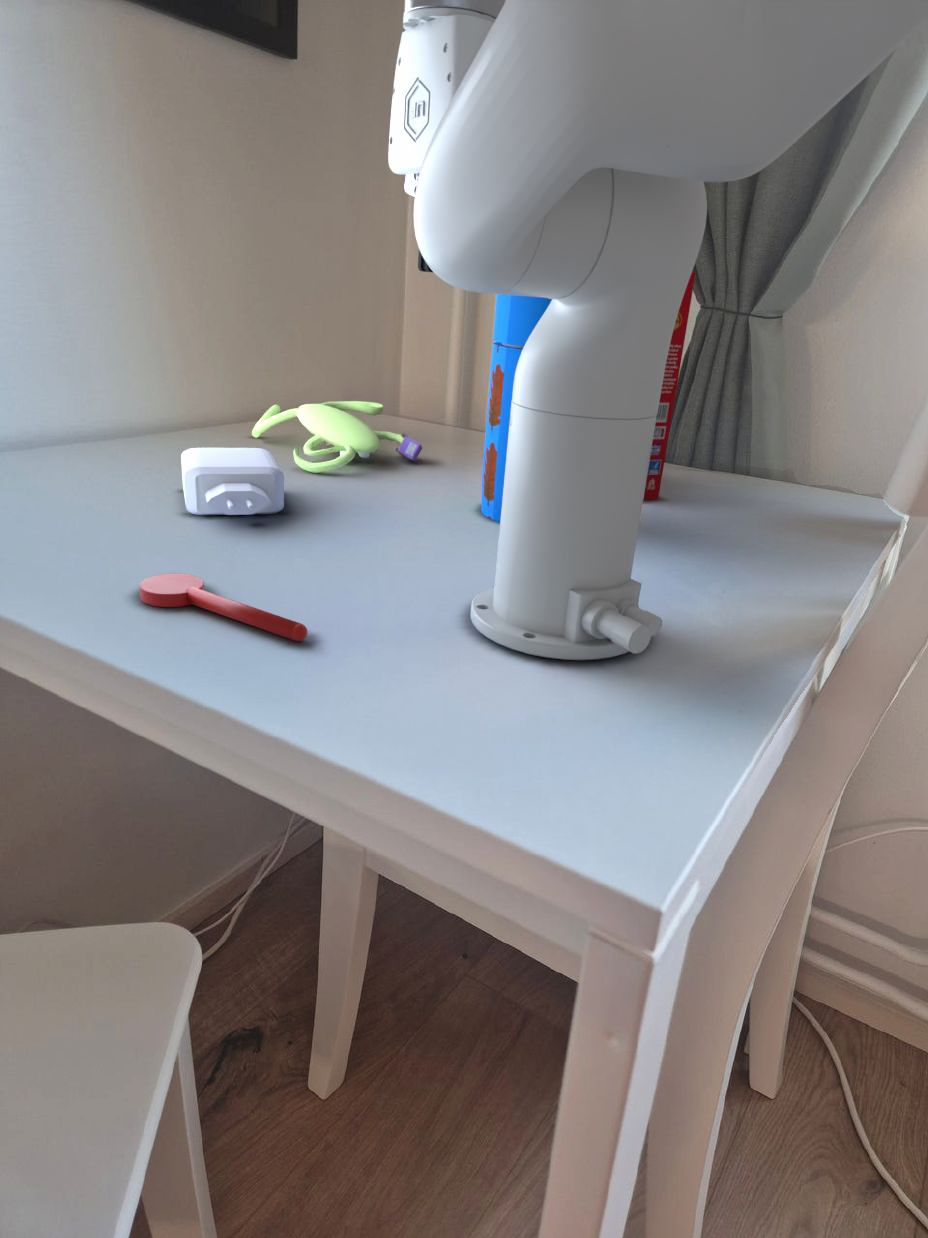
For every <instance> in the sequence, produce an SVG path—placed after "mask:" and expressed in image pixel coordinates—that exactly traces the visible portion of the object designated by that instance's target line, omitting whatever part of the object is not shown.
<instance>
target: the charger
mask: <svg viewBox="0 0 928 1238" xmlns="http://www.w3.org/2000/svg"><path fill="white" fill-rule="evenodd" d="M180 461H181V462H180V463H181V477H182V478H181V479H182V489H183V495H184V496H183V497H184V503H185V509H186V511H188V513H190V514H193V515H196V516H238V515H239V516H240V515H271V514H277V513H278V512H281V511H282V510H283V509H284V507H285V475H284V472H283V470H282V469H281V467H280V465H279V464H278V462H277V460H276V458H275V457H274V456H273V454H272V452H270V450H267V449H265V448H261V447H191V448H187V449H185V450H183V451H182V453H181V455H180Z"/></svg>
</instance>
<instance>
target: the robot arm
mask: <svg viewBox="0 0 928 1238" xmlns="http://www.w3.org/2000/svg"><path fill="white" fill-rule="evenodd" d="M402 14H403V15H402V28H403V29H404V31H402V32H401V37H400V42H399V47H398V52H397V58H396V64H395V71H394V79H393V89H392V99H391V107H390V108H391V109H390V110H391V111H390V121H389V134H388V135H389V137H388V140H389V141H388V167H389V169H390V170H391V172H392V173H393V174H396V175H401V176H402V175H403V176H404V175H405V180H404V191H405V193H406V194H408V195H409V196H412V197H414V200H413V229H414V235H415V240H416V243H417V246H418V247H417V248H418V254H417V255H418V257H417V268H418V271H420V272H422V273H423V272H424V273H433V274H434V275H435V276H437V277H438V278H439V279H441V280H442V281H443V282H444V283H446V284H448V285H450V286H452V287H453V288H456V289H460V290H464V291H467V292H471V293H478V294H479V293H481V294H487V295H488V294H489V295H497V294H500V295H515V296H530V297H545V298H549V299H552V301H551V303H550V304H549V306H548V308H547V309H546V311H545V312H544V314H543V316H542V317H541V319H540V320H539V322H538V323H537V325H536V326H535V328H534V330H533V331H532V333H531V335H530V336H529V338H528V340H527V342H526V344H525V346H524V348H523V350H522V352H521V355H520V358H519V361H518V364H517V367H516V371H515V377H514V384H513V394H512V401H511V412H510V423H509V434H508V445H507V456H506V466H505V477H504V488H503V499H502V510H501V521H500V522H499V533H498V543H497V555H496V566H495V574H494V575H495V576H494V585H492V586H489V587H487V588H485V589H483V590H481V591H480V592H479V593H477V594H476V595H475V596H474V597H473V599H472V601H471V605H470V606H471V607H470V620H471V623H472V625H473V626H474V627H475V629H476V630H477V631H478V632H479V633H480V634H482V635H483V636H484V637H486V638H488V640H491V641H492V642H494V643H496V644H498V645H500V646H504V647H506V648H508V649H511V650H514V651H517V652H520V653H524V654H527V655H532V656H537V657H542V658H547V659H556V660H565V661H566V660H567V661H589V660H590V661H593V660H602V659H608V658H615V657H617V656H622V655H625V654H627V653H629V652H630V653H632V654H633V655H637V654H640V653H642V652H643V651H645V650H646V649H647V648H648V646H649V645H650V642H651V638H652V637H655V636H656V635H658V634H659V633H660V631H661V630H662V627H663V619H662V618H661V617H660V616H658V615H656V614H654V613H652V612H650V611H648V610H644V609H641V608H640V605H639V601H640V596H641V589H642V582H639V581H637V580H634V579H632V573H633V566H634V562H635V561H634V560H635V554H636V547H637V542H638V535H639V530H640V523H641V517H642V511H643V503H644V500H643V498H644V492H645V486H646V479H647V473H648V467H649V461H650V454H651V448H652V442H653V435H654V429H655V423H656V416H657V414H658V408H659V401H660V395H661V389H662V383H663V377H664V372H665V366H666V361H667V356H668V351H669V347H670V342H671V338H672V333H673V330H674V326H675V322H676V319H677V315H678V311H679V308H680V305H681V302H682V299H683V296H684V293H685V290H686V287H687V284H688V281H689V279H690V276H691V273H693V270H694V267H695V265H696V262H697V259H698V255H699V253H700V250H701V246H702V243H703V239H704V234H705V230H706V224H707V218H708V217H707V216H708V199H707V190H706V186H705V183H727V182H734V181H738V180H743V179H746V178H749V177H751V176H754V175H755V174H758V173H759V172H761V171H762V170H763V169H765V168H767V167H768V166H769V165H771V164H772V163H774V162H775V160H777V159H778V158H779V157H780V156H782V155H783V154H784V153H785V152H786V151H788V149H789V148H790V147H792V146H793V145H794V144H795V143H796V142H797V141H799V140H800V139H801V138H802V137H803V136H804V135H805V134H806V133H807V132H808V131H809V130H810V129H812V127H814V125H816V124H817V123H818V122H819V121H820V120H821V119H822V118H823V117H824V116H826V115H827V114H828V113H829V112H830V111H831V110H832V109H833V108H834V107H835V106H836V105H838V103H839V102H840V101H842V100H843V99H844V98H845V97H846V96H847V95H848V94H849V93H851V91H852V90H854V89H855V88H856V87H857V86H858V85H859V84H860V83H861V82H862V81H863V80H864V79H865V78H866V77H868V76H869V75H870V74H871V73H872V72H873V71H874V70H875V69H876V68H877V67H878V66H880V65H881V64H882V63H883V62H884V61H885V60H886V59H887V58H888V57H889V56H890V55H891V54H893V52H894V51H896V50H897V49H898V48H899V47H901V45H902V44H904V43H905V41H907V40H908V39H909V38H910V37H911V36H912V35H913V34H914V33H916V31H917V30H918V29H919V28H920V27H921V26H922V25H923V24H924V23H925V22H926V21H927V20H928V0H403V12H402Z"/></svg>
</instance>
